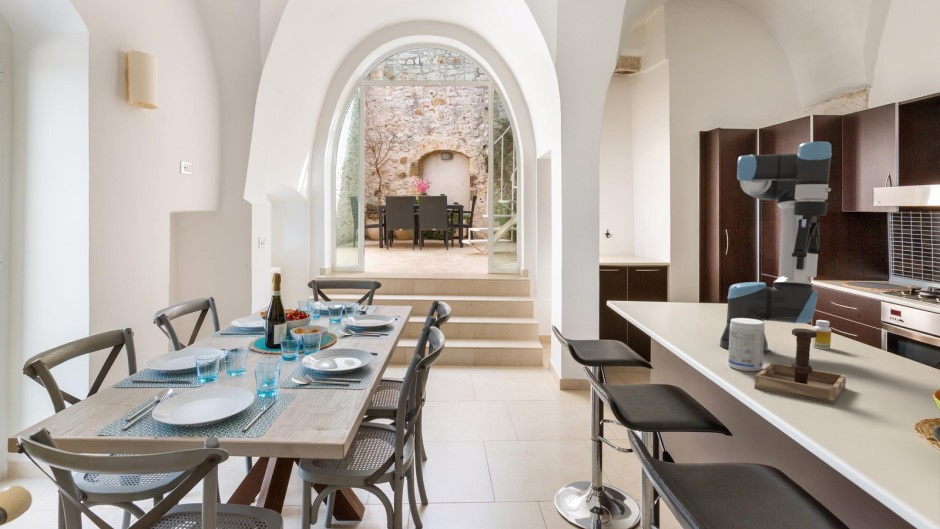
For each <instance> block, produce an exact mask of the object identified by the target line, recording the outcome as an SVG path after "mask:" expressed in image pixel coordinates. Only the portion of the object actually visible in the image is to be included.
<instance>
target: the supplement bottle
mask: <svg viewBox="0 0 940 529" xmlns="http://www.w3.org/2000/svg"><path fill="white" fill-rule="evenodd" d="M815 322H816V323H815V326H814V327H813V329H812V330H814V331H816V333H817V338H812V342H811V343H812V344H811V346H812V347H813V348H814V347H815V349H818V348H820V349H819V350H830V349H831V341H832V328H831V327H830V324H831V323H830V321H829V320H823V319H817V320H816V321H815ZM829 348H830V349H829Z"/></svg>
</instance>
